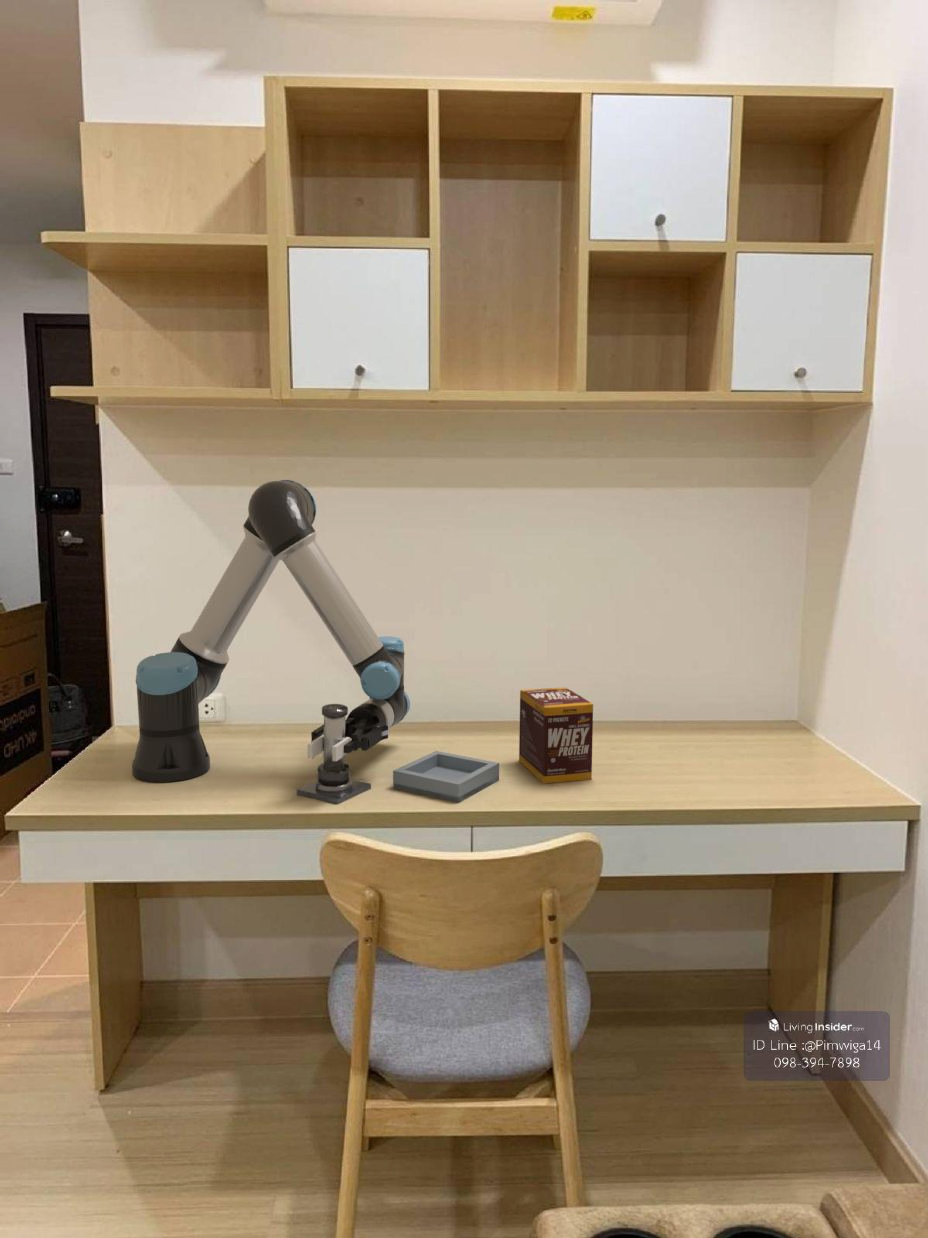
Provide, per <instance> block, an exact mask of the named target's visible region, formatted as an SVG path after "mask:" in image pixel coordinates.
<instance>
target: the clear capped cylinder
mask: <svg viewBox="0 0 928 1238" xmlns="http://www.w3.org/2000/svg"><path fill="white" fill-rule="evenodd" d="M348 712H349V708H348V706H347V705H345V704H342V703H341V704H339V703H329V704H325V705H323V706H322V707H321V715H322V716H323V724H324V746H323V751H322V752H323V754H322V755H323V756H322V758H323V760H322V763H321V764H319V765H318V767H317V779H318V782H319V783H320V784H322V785H324V786H330V787H336V786H342V785H345V784H347V783H348V782H349V778H351V777H350V776H351V774H350V773H351V771H350V770H351V767H350V765H349V764H347V763H345V761H346V760H345V759H346V757H345V756H346V755H345V756H343V757H342V758H340V759H339V760H338V761H333V755H332V747H333V746H334V745H336V744H337V743H339V742H340V741H342V740H343V739H345V720H346V716H347V715H349V714H348Z"/></svg>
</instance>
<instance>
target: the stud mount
mask: <svg viewBox="0 0 928 1238" xmlns="http://www.w3.org/2000/svg"><path fill="white" fill-rule="evenodd" d="M371 789H372V783H371V782H370V783H369V782H366V781H361V780H355V779H352V778H351V777H350V778H349V782H348V783H347V784H345V785H342V786H336V787H330V786H324V785H322V784H320V783H319V782H318V778H317V779H316V780H315V781H313V782H310V783H308V784H306V785H303V786H300V787H298V788H296V795H299V796H302V795H303V797H306V798H311V799H314V800H318V799H319V801H323V802H327V803H331V802H332V804H335V805H339V804H341V803H343V802H345V801H347V800H351V799H352V798H353V797H356V796H358V795H360V794H363V793H365V792H367V791H369V790H371Z"/></svg>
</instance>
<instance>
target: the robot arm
mask: <svg viewBox="0 0 928 1238" xmlns="http://www.w3.org/2000/svg"><path fill="white" fill-rule="evenodd" d="M247 509H248V510H247V511H248V516H247V518H246V520H245V522H244V524H243V526H242V528H243V532H244V538H243V540H242V542H241V543H240V545H239V547H238V549H237V550H236V552H235V553H234V555H233V557H232V559H231V561H230V563H229V564H228V566H227V568H226V570H224V572H223V574H222V576H221V579H220V580H219V581H218V583H217V585H216V586H215V588H214V590H213V592H212V594H211V595H210V597H209V599H208V601H207V602H206V604H205V606H204V608H203V609H202V611H201V612H200V615H199V616H198V618H197V620H196V621H195V623H194V625H193V626H192V628H191V630H190V631H187V632H182V633H181V634H179V637H178V638H177V640H176V641H175V643H174V645H173V646H172V647H171V650H170V652H168V651H167V652H162V653H157V654H155V655H150V656H147V657H144V658H143V659H142V660H141V661H139V663H138V664H137V666H136V676H135V684H136V695H137V697H136V698H137V710H138V711H137V712H138V713H137V714H138V727H139V729H138V730H139V737H138V738H139V739H138V742H137V746H136V750H135V754H134V758H133V760H132V763H131V767H132V768H131V769H132V771H131V773H132V776H133V777H134V778H135V779H138V780H141V781H143V782H151V783H153V782H154V783H167V782H168V783H169V782H180V781H184V780H190V779H193V778H196V777H199V776H201V775H203V774H206V773H207V772H208V771H210V769H211V758H210V754H209V753H208V750H207V747H206V745H205V741H204V738H203V737H202V734H201V730H200V728H201V727H200V710H199V709H200V708H199V705H200V703H201V702H203V700H204V699H206V698H208V697H209V696H210V695H212V693H214V692H215V690H216V689H217V688H218V686H219V683H220V680H221V678H222V673H223V672H224V670H225V668H226V667H227V665H228V664H229V661H230V657H229V654H228V649H229V647H230V646H231V644H232V642H233V641H234V639H235V637H236V635H237V634H238V632H239V630H240V629H241V627H242V625H243V623H244V622H245V620H246V619H247V616H248V615H249V613H250V611H251V610H252V609H253V606H254V605H255V603H256V601H257V599H258V598H259V596H260V594H261V593H262V591H263V589H264V587H265V586H266V584H267V583H268V581H269V579H270V577H271V576H272V574H273V572H274V570H275V569H276V567H277V565H278V564H279V562H280V561H282V562H283V563H284V565H285V566H286V568H287V569H288V571H289V573H290V574H291V576H292V577H293V578H294V580H295V582H296V583H297V585H298V586H299V588H300V589H301V591H303V594H304V595H305V597H306V599H307V600H308V601H309V602H310V604H311V606H312V607H313V609H314V610H315V612H316V613H317V615H318V616H319V618H320V619H321V621H322V623H323V624H324V625H325V627H326V628H327V630H328V631H329V633H330V635H331V636H332V638H333V639H334V641H335V642H336V644H337V645H338V646H339V648H340V650H341V651H342V652H343V654H344V655H345V657H346V659H347V660H348V661H349V663H350V664H351V666H352V668H353V670H354V672H356V674H357V675H358V677H359V679H360V686H361V689H362V691H363V693H364V694H366V696H367V697H368V700H366V701H364V702H363V703H361V704H359V705H357V707H355V708H353V709H352V710H351V711H350V712H349V714H347V715H348V716H347V717H346V718H345V739H343V740H342V741H340V742H339V743H337V744H336V745H334V746H333V747H332V755H333V761H338V760H339V759H340V758H342V757H343V756H346V755H348V754H350V753H352V752H356V751H358V750H359V749H361V751H363V752H366V751H368V750H370V749H371V748H373V747H374V746H375V745H377V744H379V743H380V742H382V741H383V740H387V739H389V730H390V729H391V728H392V727H393V726H395V725H397V724H399V723H400V722H402V721H403V720H404V718H405V717H406V716H407V715H408V713H409V711H410V709H411V700H410V698H409V696H408V694H407V693H406V691H405V683H404V682H405V648H404V647H405V646H404V644H405V643H404V640H403V639H402V638H400V637H397V636H378V635H377V633H376V632H375V630H374V628H373V627H372V625H371V624H370V623H369V621H368V619H367V618H366V616H365V614H364V613H363V612H362V610H361V608H360V607H359V606H358V603H356V601H355V599H354V597H353V596H352V595H351V593H350V592H349V589H347V587H346V586H345V584H344V582H343V581H342V580H341V578H340V576H339V575H338V573H337V572H336V570H335V568H334V567H333V565H332V564H331V562H330V561H329V560H328V558H327V556H326V555H325V553H324V551H323V550H322V548H321V547H320V545H319V544H318V543H317V541H316V538H317V537H316V536H317V531H316V530H315V528H314V527H313V524H314V522H315V520H316V516H317V504H316V501H315V498H314V495H313V494H312V492H311V491H310V490H309V489H308V488H307V487H306V486H304V485H303V484H302V483H299V482H297V481H295V480H292V479H279V480H274V481H273V480H272V481H268V482H265V483H263V484H261V485H260V486H258V487H257V488H256V489H255V490H254V491H253V493H252V495H251V497H250V499H249V502H248V508H247ZM310 735H311V741H310V742H309V743H307V759H314V758H315V757H316V756H318V755H319V754H321V753H322V752H323V746H324V723H323V724H322V725H320V726H319V727H318V728H316V729H314V730H313V731H311V733H310Z"/></svg>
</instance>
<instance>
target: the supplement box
mask: <svg viewBox="0 0 928 1238" xmlns="http://www.w3.org/2000/svg"><path fill="white" fill-rule="evenodd" d="M519 691H520V692H519V735H518V736H519V743H518V746H519V749H518V750H519V751H518V761H519V762H520V763H521V764H522V765H523V766H524V767H525V768H526V769H527V768H528V769H527V770H528V771H529V772H530V773H532V774H533V775H534V776H535V777H536V778H537V779H538V780H539V781H540V782H541V781H542V782H541V783H543V784H544V785H545V784H553V783H554V784H556V783H564V782H573V781H574V782H575V781H586V780H592V775H593V774H592V772H593V735H594V734H593V733H594V732H593V730H594V729H593V727H594V724H593V723H594V721H593V720H594V703H593V702H590V701H588V700H587V699H586V698H584V697H582V696H581V695H579V694H577V693H576V692H575V691H572V690H570V688H568V687H549V688H534V689H520V690H519Z"/></svg>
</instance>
